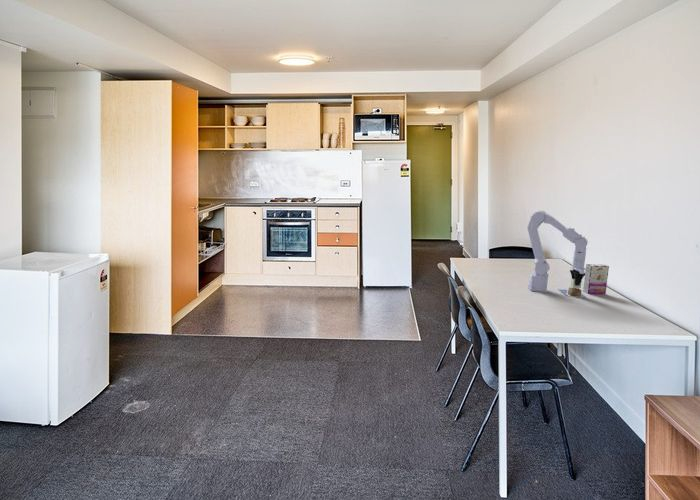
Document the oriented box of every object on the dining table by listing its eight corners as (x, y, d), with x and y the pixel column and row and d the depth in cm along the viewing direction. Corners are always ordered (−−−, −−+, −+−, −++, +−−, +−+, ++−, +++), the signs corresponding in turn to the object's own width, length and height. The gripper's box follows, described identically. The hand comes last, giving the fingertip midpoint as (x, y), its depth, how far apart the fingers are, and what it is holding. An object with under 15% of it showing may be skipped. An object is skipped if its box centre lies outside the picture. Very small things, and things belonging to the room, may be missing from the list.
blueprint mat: (565, 296, 270) (566, 296, 270) (557, 289, 286) (557, 289, 285) (587, 298, 269) (587, 297, 269) (577, 291, 284) (577, 290, 284)
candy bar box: (599, 292, 285) (603, 264, 282) (605, 294, 280) (609, 265, 278) (581, 292, 283) (585, 263, 280) (587, 294, 278) (591, 265, 275)
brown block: (570, 295, 271) (571, 289, 270) (568, 293, 276) (568, 287, 275) (580, 296, 270) (581, 290, 270) (577, 294, 275) (578, 288, 275)
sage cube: (572, 287, 271) (573, 280, 270) (570, 285, 275) (571, 278, 274) (580, 288, 270) (581, 280, 270) (578, 286, 274) (579, 279, 273)
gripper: (591, 262, 262) (588, 288, 265) (582, 257, 277) (579, 282, 279) (577, 261, 263) (574, 287, 265) (569, 256, 277) (565, 281, 280)
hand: (575, 284), depth 272 cm, fingers closed on sage cube, 4 cm apart
